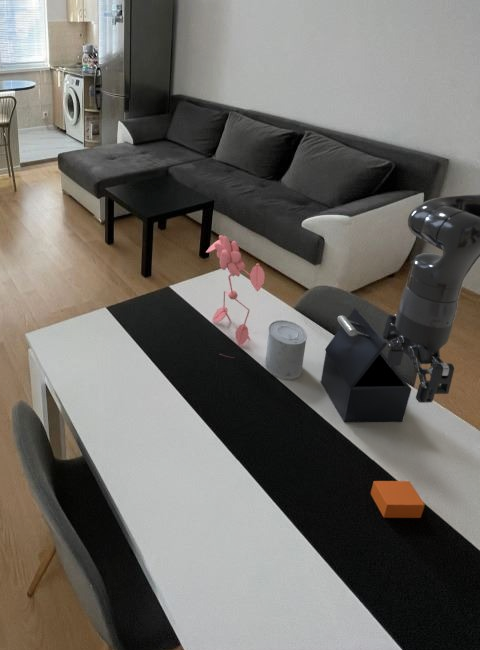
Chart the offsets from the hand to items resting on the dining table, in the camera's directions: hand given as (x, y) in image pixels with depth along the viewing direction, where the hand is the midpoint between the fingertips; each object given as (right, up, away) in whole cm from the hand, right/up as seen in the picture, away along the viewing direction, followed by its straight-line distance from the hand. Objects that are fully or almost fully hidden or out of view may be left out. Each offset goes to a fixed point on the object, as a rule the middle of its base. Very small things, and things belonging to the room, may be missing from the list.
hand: (407, 381), depth 80 cm
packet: (+2, -28, +6) cm, 29 cm away
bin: (+10, -19, +29) cm, 36 cm away
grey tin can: (-4, -15, +41) cm, 44 cm away
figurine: (-17, -11, +55) cm, 58 cm away
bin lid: (+5, -3, +23) cm, 24 cm away
